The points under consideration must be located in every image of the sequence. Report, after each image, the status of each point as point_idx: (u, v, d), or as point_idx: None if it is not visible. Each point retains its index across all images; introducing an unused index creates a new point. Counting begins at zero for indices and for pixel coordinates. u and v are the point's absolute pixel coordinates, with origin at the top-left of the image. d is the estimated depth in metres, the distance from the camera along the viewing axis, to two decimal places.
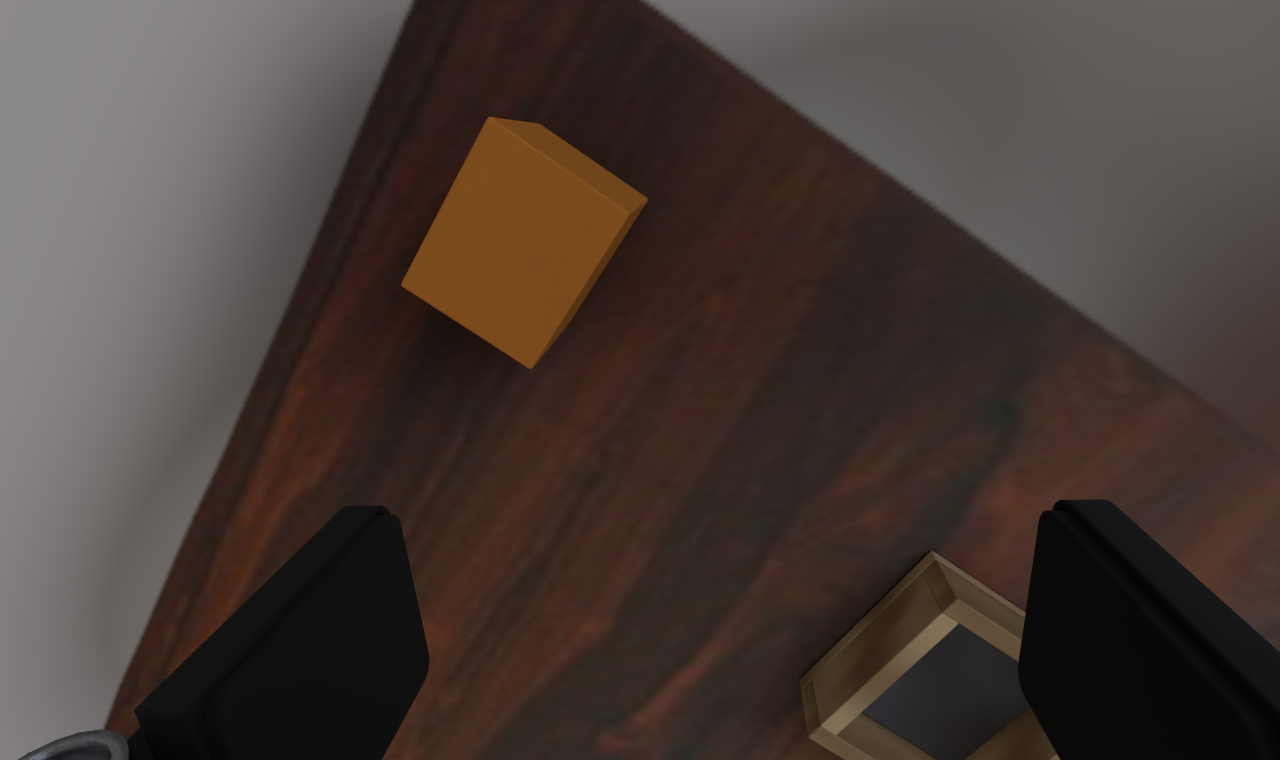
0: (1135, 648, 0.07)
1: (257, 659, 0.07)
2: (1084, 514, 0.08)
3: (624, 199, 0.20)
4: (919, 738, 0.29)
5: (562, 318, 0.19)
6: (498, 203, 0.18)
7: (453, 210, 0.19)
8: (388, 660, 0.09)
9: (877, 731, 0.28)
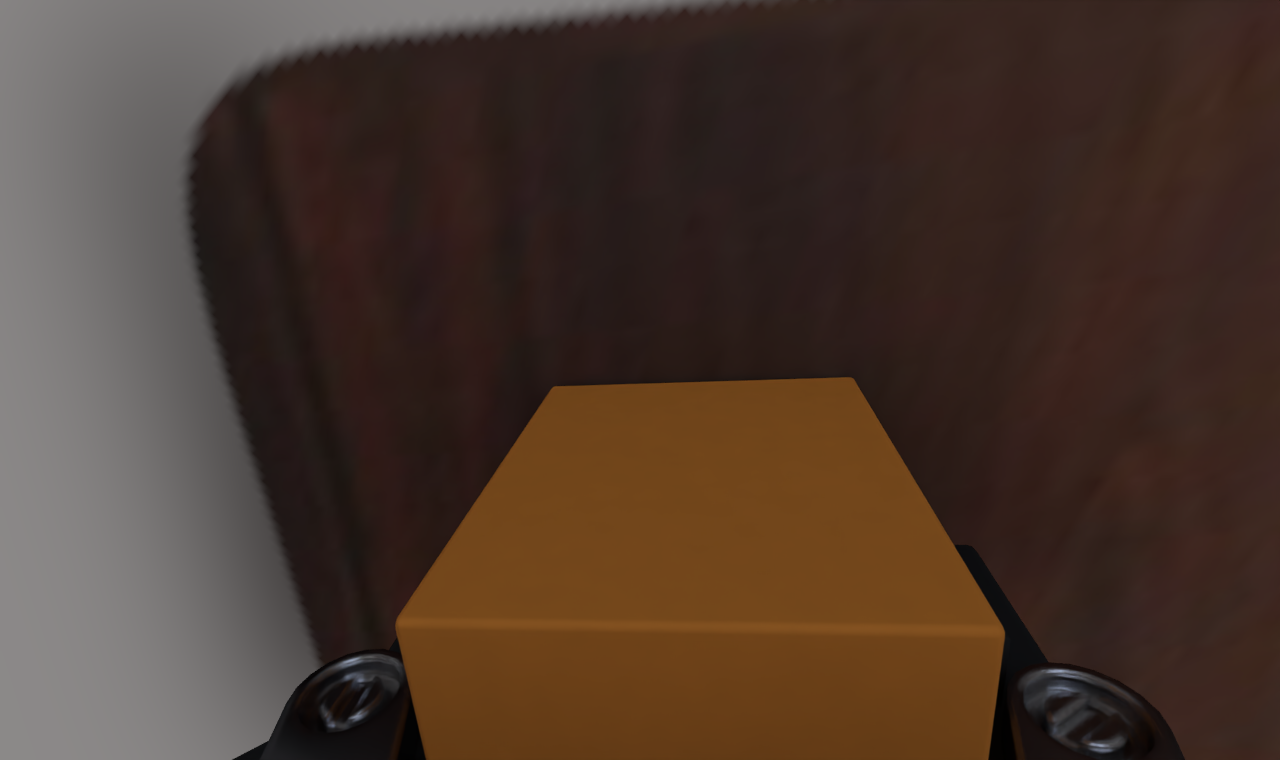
0: None
1: None
2: None
3: (883, 505, 0.06)
4: None
5: None
6: None
7: None
8: None
9: None
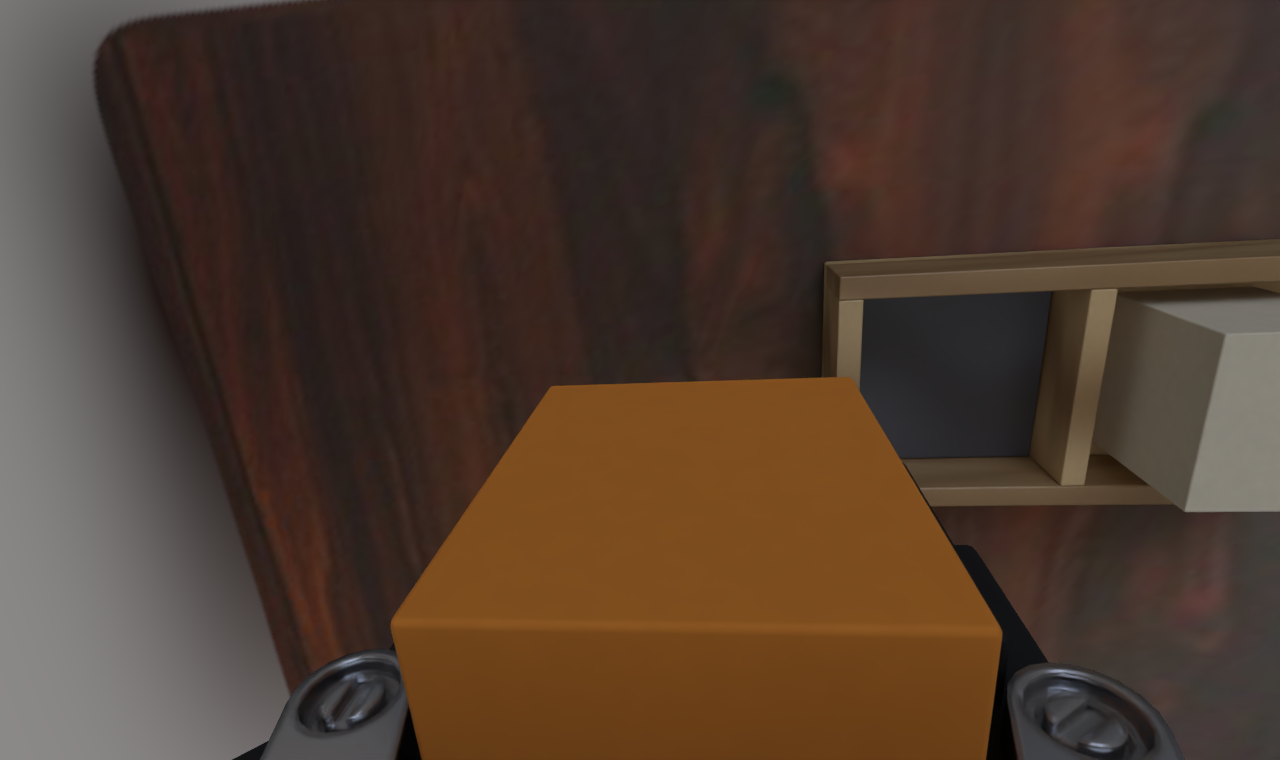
0: None
1: None
2: None
3: (880, 505, 0.06)
4: (968, 447, 0.25)
5: None
6: None
7: None
8: None
9: (915, 465, 0.25)
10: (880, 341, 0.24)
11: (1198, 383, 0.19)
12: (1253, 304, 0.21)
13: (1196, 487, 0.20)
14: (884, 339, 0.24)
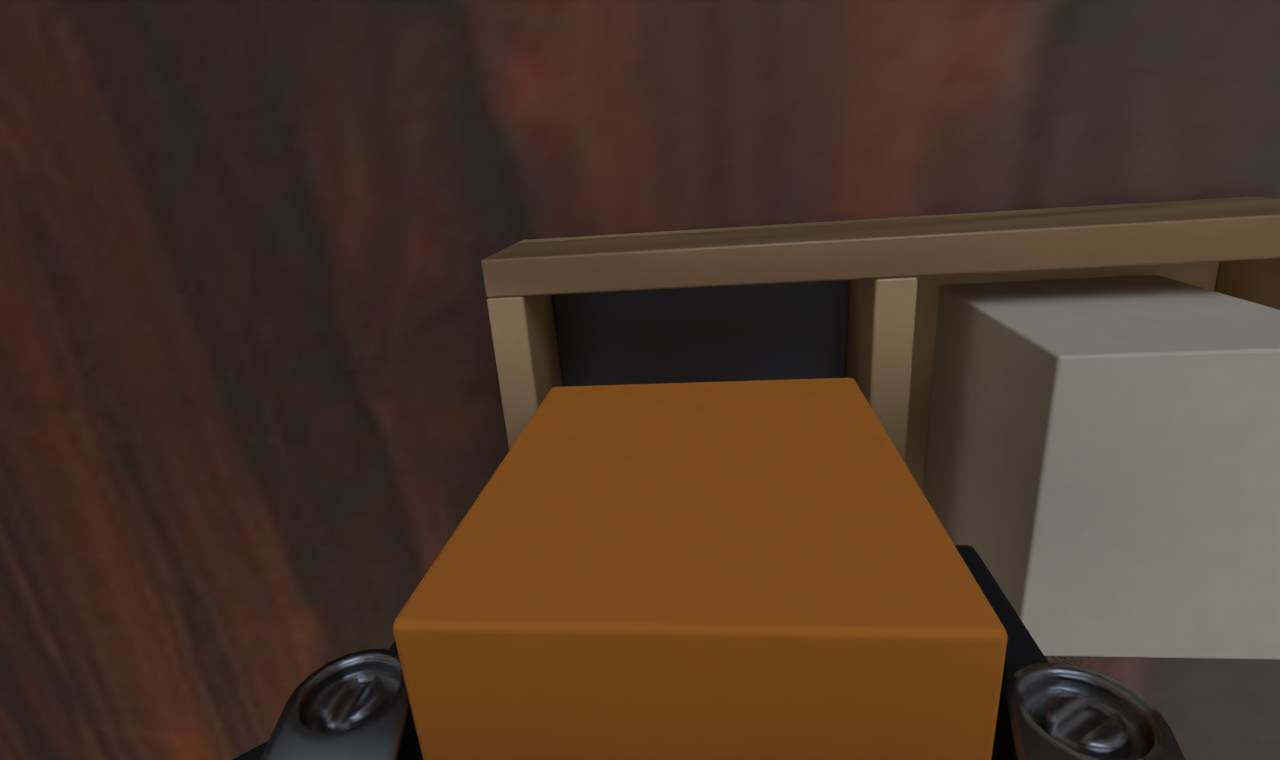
0: None
1: None
2: None
3: (884, 506, 0.06)
4: None
5: None
6: None
7: None
8: None
9: None
10: (605, 359, 0.16)
11: (1027, 439, 0.11)
12: (1139, 302, 0.12)
13: (1031, 616, 0.11)
14: (610, 357, 0.16)
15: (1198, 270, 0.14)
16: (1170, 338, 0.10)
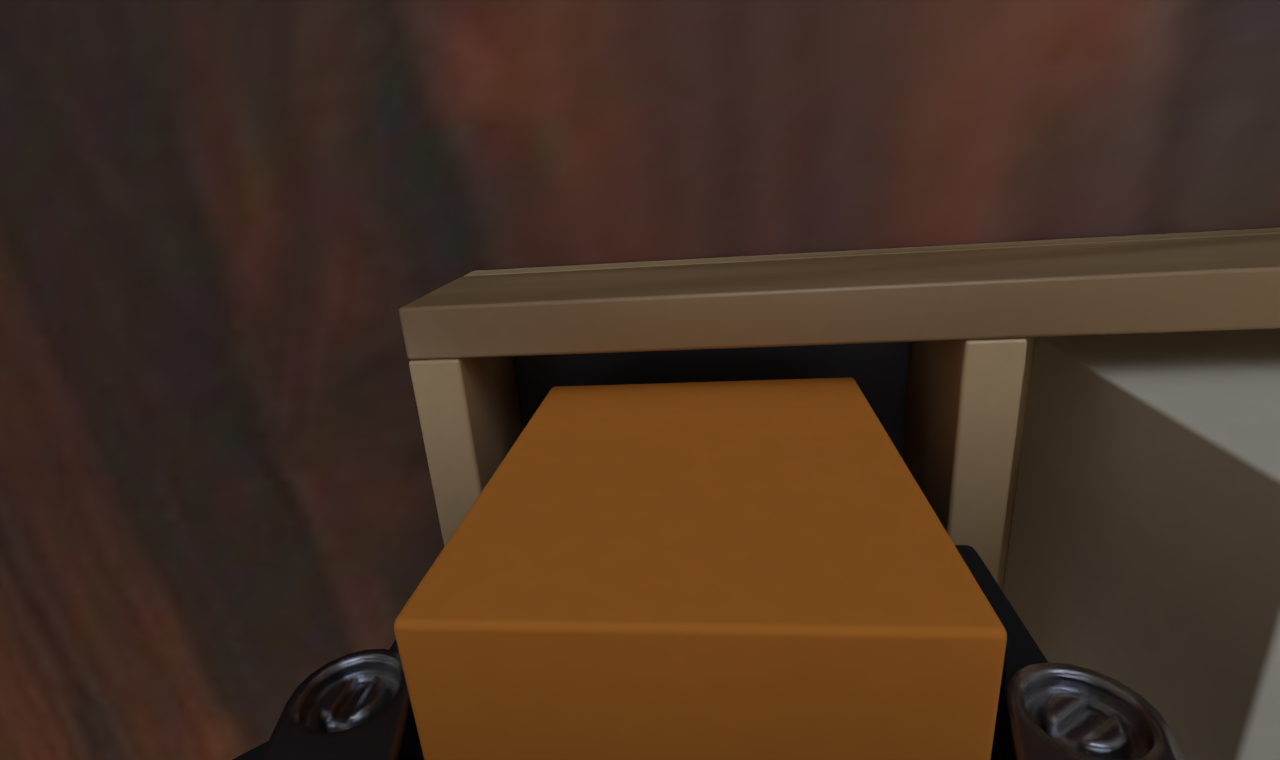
0: None
1: None
2: None
3: (884, 506, 0.06)
4: None
5: None
6: None
7: None
8: None
9: None
10: None
11: (1226, 609, 0.07)
12: None
13: None
14: None
15: None
16: None
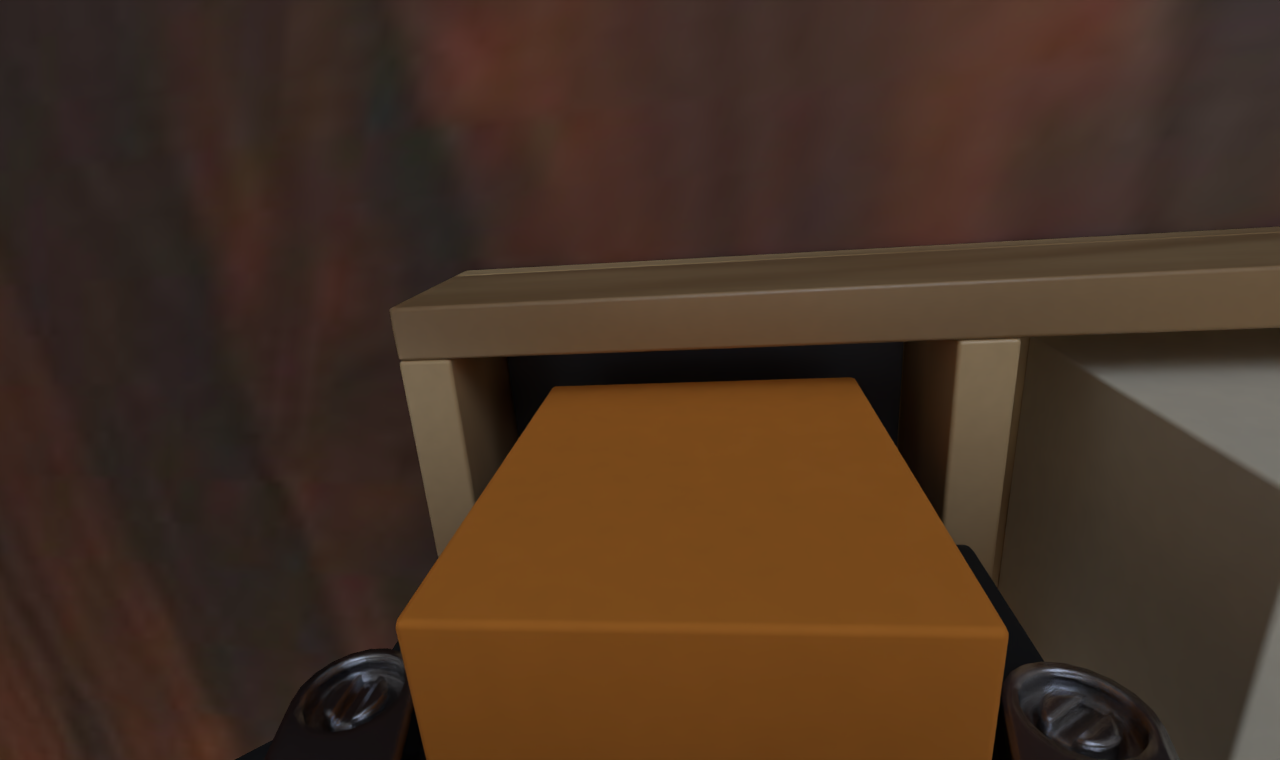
0: None
1: None
2: None
3: (885, 505, 0.06)
4: None
5: None
6: None
7: None
8: None
9: None
10: None
11: (1219, 610, 0.07)
12: None
13: None
14: None
15: None
16: None
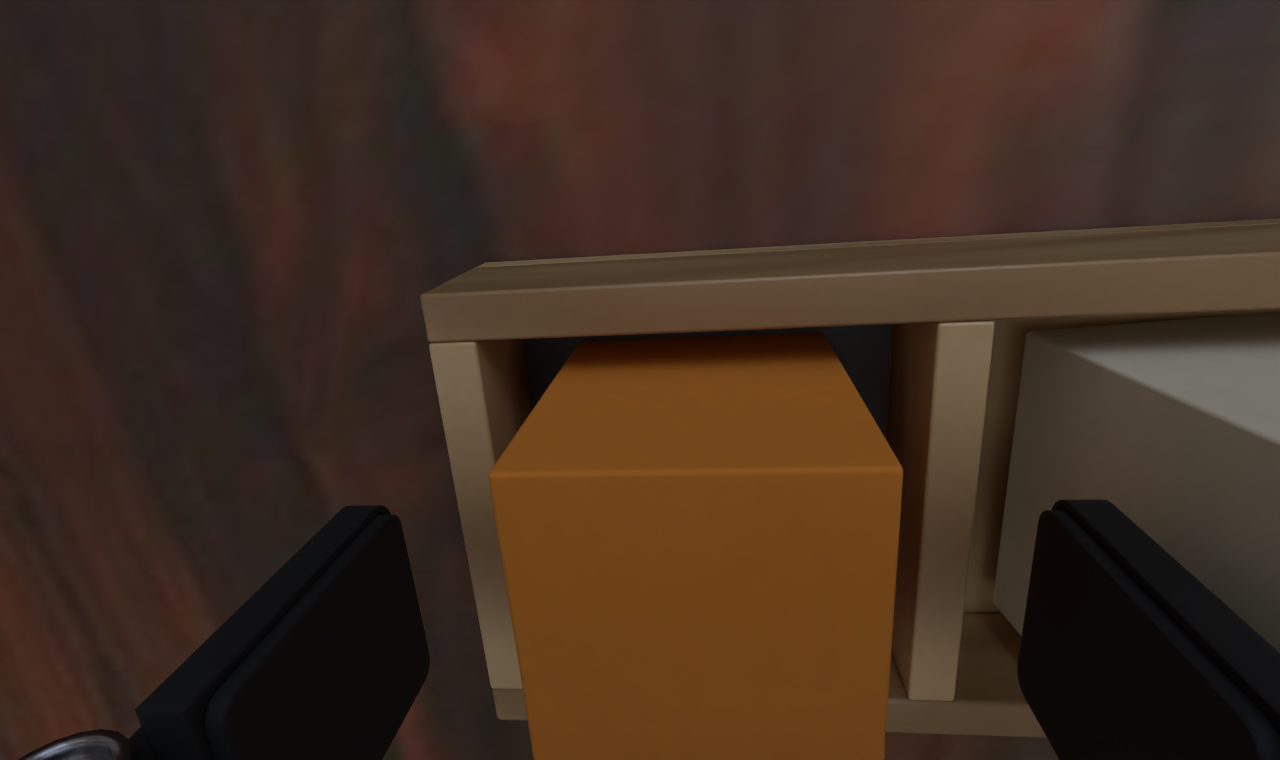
0: (1134, 648, 0.07)
1: (258, 659, 0.07)
2: (1083, 514, 0.08)
3: (833, 408, 0.09)
4: None
5: (883, 730, 0.08)
6: (616, 609, 0.08)
7: (544, 667, 0.08)
8: (389, 660, 0.09)
9: None
10: None
11: (1265, 588, 0.07)
12: None
13: None
14: None
15: None
16: None
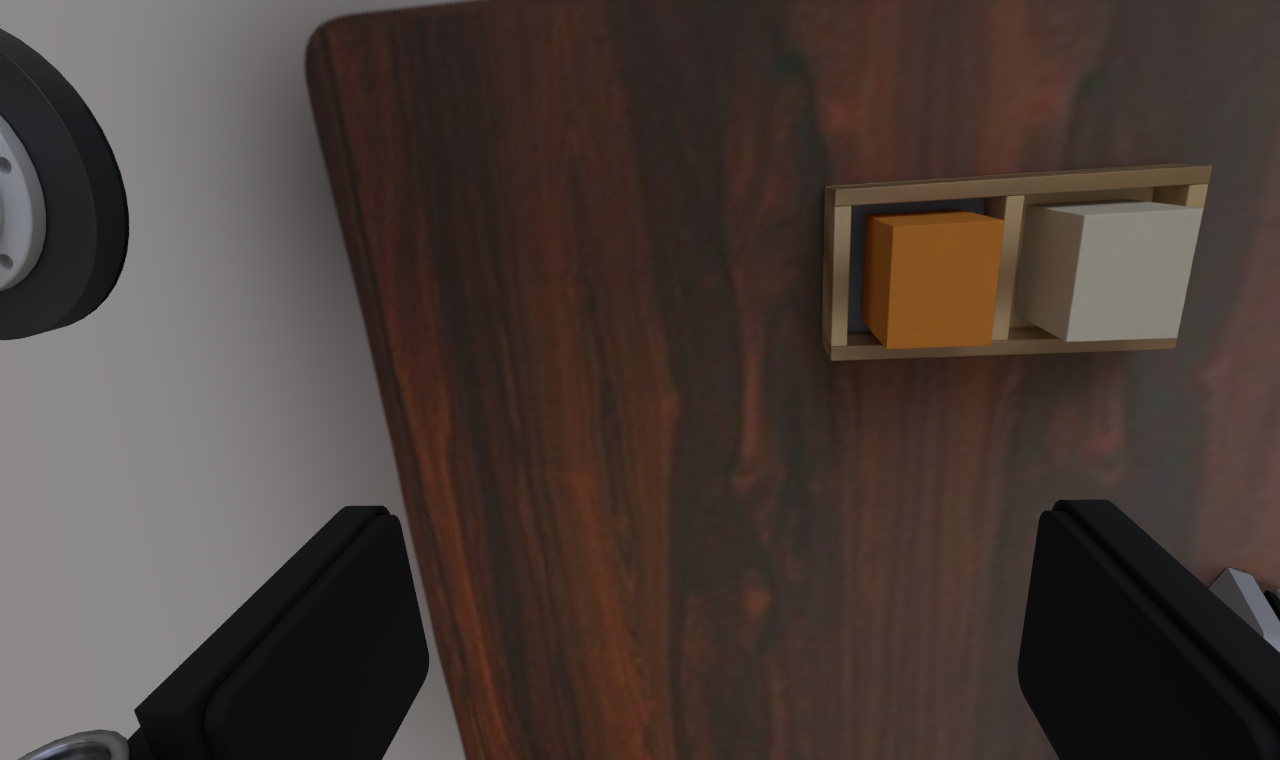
0: (1135, 648, 0.07)
1: (257, 659, 0.07)
2: (1084, 514, 0.08)
3: (978, 216, 0.30)
4: None
5: (994, 303, 0.29)
6: (922, 267, 0.29)
7: (898, 288, 0.29)
8: (388, 660, 0.09)
9: None
10: None
11: (1071, 252, 0.29)
12: (1116, 205, 0.30)
13: (1072, 323, 0.29)
14: None
15: (1144, 196, 0.32)
16: (1125, 210, 0.28)
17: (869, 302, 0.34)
